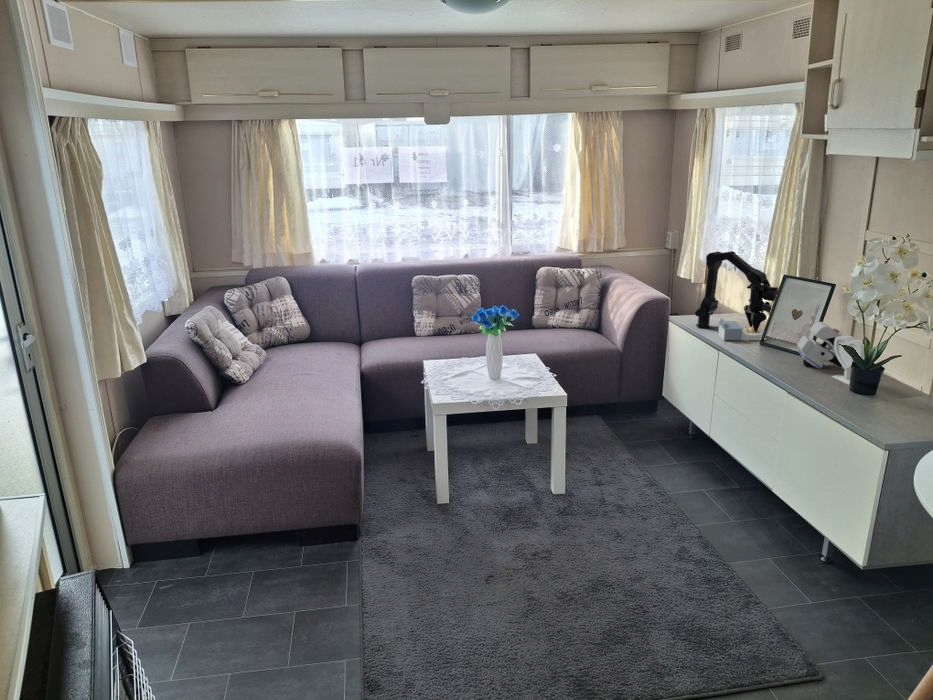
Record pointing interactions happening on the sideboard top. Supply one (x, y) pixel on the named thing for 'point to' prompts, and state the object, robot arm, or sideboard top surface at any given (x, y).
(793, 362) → the sideboard top surface
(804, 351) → the robotic device
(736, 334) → the cabinet
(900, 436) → the sideboard top surface
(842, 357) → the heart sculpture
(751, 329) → the rounded peg
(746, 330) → the housing
